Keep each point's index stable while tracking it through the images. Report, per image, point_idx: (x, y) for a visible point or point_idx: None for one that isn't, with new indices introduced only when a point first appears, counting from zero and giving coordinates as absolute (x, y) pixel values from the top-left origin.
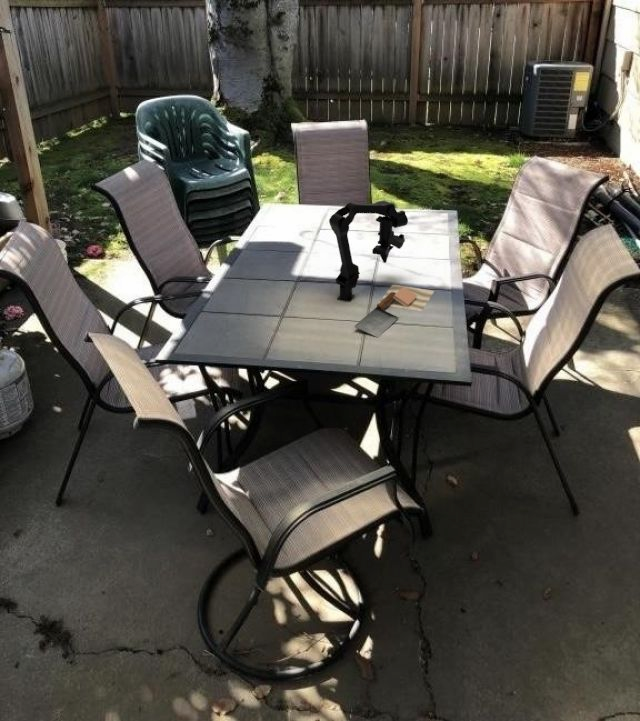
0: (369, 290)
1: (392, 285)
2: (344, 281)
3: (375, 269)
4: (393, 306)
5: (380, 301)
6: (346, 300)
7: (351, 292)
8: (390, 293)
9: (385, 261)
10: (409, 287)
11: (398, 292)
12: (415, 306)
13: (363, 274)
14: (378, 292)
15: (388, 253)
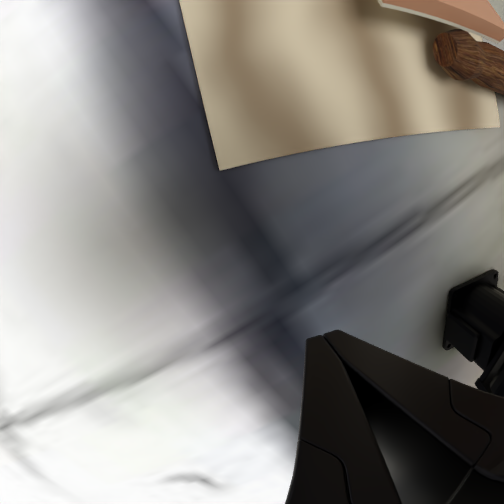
0: (362, 272)
1: (236, 161)
2: (496, 372)
3: (74, 400)
4: (481, 40)
5: (479, 122)
6: (495, 285)
7: (500, 295)
8: (481, 67)
9: (356, 343)
10: (193, 27)
11: (475, 11)
12: None
13: (173, 418)
14: (364, 205)
15: (348, 474)
